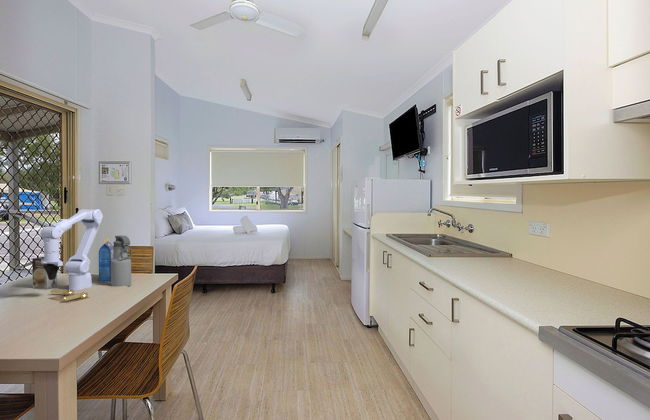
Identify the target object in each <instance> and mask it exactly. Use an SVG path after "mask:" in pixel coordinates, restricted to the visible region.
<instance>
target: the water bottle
mask: <svg viewBox="0 0 650 420" xmlns="http://www.w3.org/2000/svg"><path fill="white" fill-rule="evenodd" d="M114 238H115V241H113V249H114V259H112V260H111V281H110V286H111V287H117V288H119V287H130V286H131V285H132V260H131V258H132V256H133V249H132V248H130V247H129V246H131V240H130V238H129V236H127V235H115V236H114ZM129 253H130V254H129Z"/></svg>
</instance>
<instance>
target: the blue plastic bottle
mask: <svg viewBox="0 0 650 420" xmlns="http://www.w3.org/2000/svg"><path fill="white" fill-rule="evenodd" d="M112 259H114V245H113V244H112V243H111V242H109V237H108V236H107V237H106V238H104V244H103V245H102V246H101V247H100V248H99V250H98V281H99V282H103V283H106V282H111V260H112Z"/></svg>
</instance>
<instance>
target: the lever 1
mask: <svg viewBox="0 0 650 420" xmlns="http://www.w3.org/2000/svg"><path fill="white" fill-rule="evenodd" d="M50 294H55V295H56V294H59V295H64V296H70V295H74V294H75V290H69V289H62V288H61V289H59V288H58V289H54V288H53V289H51V290H50Z"/></svg>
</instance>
